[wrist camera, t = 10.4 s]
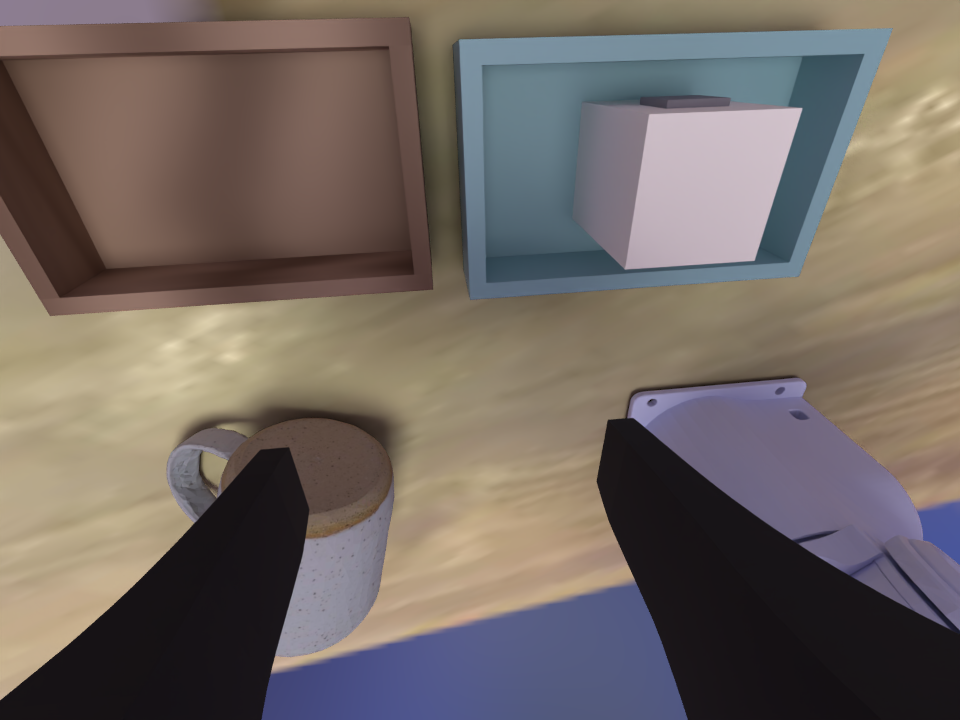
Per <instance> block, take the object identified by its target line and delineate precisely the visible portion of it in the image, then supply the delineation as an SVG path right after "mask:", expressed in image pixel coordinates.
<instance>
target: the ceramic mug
mask: <svg viewBox="0 0 960 720" xmlns="http://www.w3.org/2000/svg"><path fill="white" fill-rule="evenodd" d="M284 447H289V448H290V451H291V454H292V457H293V460H294V463H295V466H296V469H297V472H298V476H299V479H300V482H301V485H302V488H303V491H304V494H305V497H306V500H307V503H308V506H309V509H310V510H309V517H308V524H307V532H306V538H305V544H304V551H303V556H302V560H301V564H300V567H299V571H298V575H297V578H296V582H295V586H294V590H293V593H292V597H291V600H290V604H289V608H288V611H287V615H286V618H285V622H284V626H283V629H282V633H281V636H280V640H279V644H278V647H277V651H276V654H275V656H281V657H294V656H301V655H307V654H311V653H314V652H318V651H322V650H324V649H326V648H328V647H330V646H332V645H334V644H336V643H338V642H339V641H341V640H342V639H344V638H345V637H346V636H348V635H349V634H350V633H351V632H352V631H353V630H354V629H355V628H356V627H357V626H358V625H359V624H360V623H361V622H362V621H363V620H364V618H365V617H366V615H367V614H368V612H369V611H370V609H371V607H372V606H373V604H374V602H375V600H376V597H377V595H378V592H379V587H380V582H381V575H382V568H383V563H384V557H385V551H386V545H387V536H388V530H389V525H390V520H391V515H392V508H393V502H394V476H393V469H392V465H391V462H390V459H389V456H388V455H387V453H386V451H385V449H384V448H383V447H382V445H381V444H380V443H379V442H378V441H377V440H376V439H375V438H374V437H372V436H371V435H369V434H368V433H366V432H365V431H363V430H361V429H360V428H358V427H356V426H354V425H351V424H348V423H344V422H341V421H337V420H333V419H326V418H301V419H295V420H289V421H284V422H281V423H278V424H275V425H272V426H270V427H267V428H265V429H263V430H261V431H259V432H257V433H256V434H254V435H253V436H252V437H250V438H247V437H246V436H245V435H242V434H240V433H238V432H236V431H232V430H225V429H218V428H209V429H205V430H201V431H199V432H198V433H196V434H194V435H193V436H191V437H190V438H188V439H187V440H185V441H184V442H182V443H181V444H179V445H178V446H177V447H176V448H175V449H174V450H173V451H172V452H171V454H170V456H169V459H168V462H167V480H168V484H169V486H170V489H171V492H172V494H173V496H174V497H175V499H176V501H177V503H178V505H179V506H180V507H181V509H182V510H183V511H184V512H185V514H186V515H187V516H188V517H189V518H190V519H191V520H192V521H193V522H194V523H195V522H196V521H197V520H198V519H199V518H200V517H201V516H202V514H203V513H204V512H205V511H206V510H207V509H208V508H209V507H210V506H211V505H212V503H213V502H214V501H215V500H216V499H217V498H218V497H219V496H220V494H221V493H222V492H223V491H224V490H225V489H226V488H227V487H228V485H229V484H230V483H231V482H232V481H233V480H234V479H235V477H236V476H237V475H238V474H239V473H240V472H241V471H242V469H243V468H244V467H245V466H246V465H247V464H248V463H249V462H250V460H251V459H252V458H253V457H254V456H255V455H256V454H257V453H258V452H259V451H260V449H272V448H284ZM202 450H203V451H205V452H210V453H213V454H215V455H217V456H218V457H221V458H224V459H226V460H228V462H227V465H226V467H225V469H224V472H223V474H222V477H221V481H220V484H219V488H218V494H217V498H216V497H215V496H214V495H213V493H212V492H211V491H210V490H209V488H208V487H207V486H206V485H205V484H204V482H203V481H202V478H201V476H200V474H199V459H200V454H201V453H202Z"/></svg>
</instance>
